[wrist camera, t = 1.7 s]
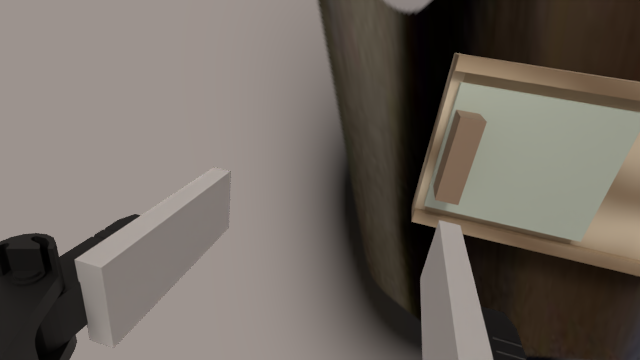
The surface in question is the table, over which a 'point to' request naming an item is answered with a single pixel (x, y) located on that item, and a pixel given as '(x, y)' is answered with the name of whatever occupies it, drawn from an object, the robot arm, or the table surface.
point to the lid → (529, 159)
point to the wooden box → (617, 206)
